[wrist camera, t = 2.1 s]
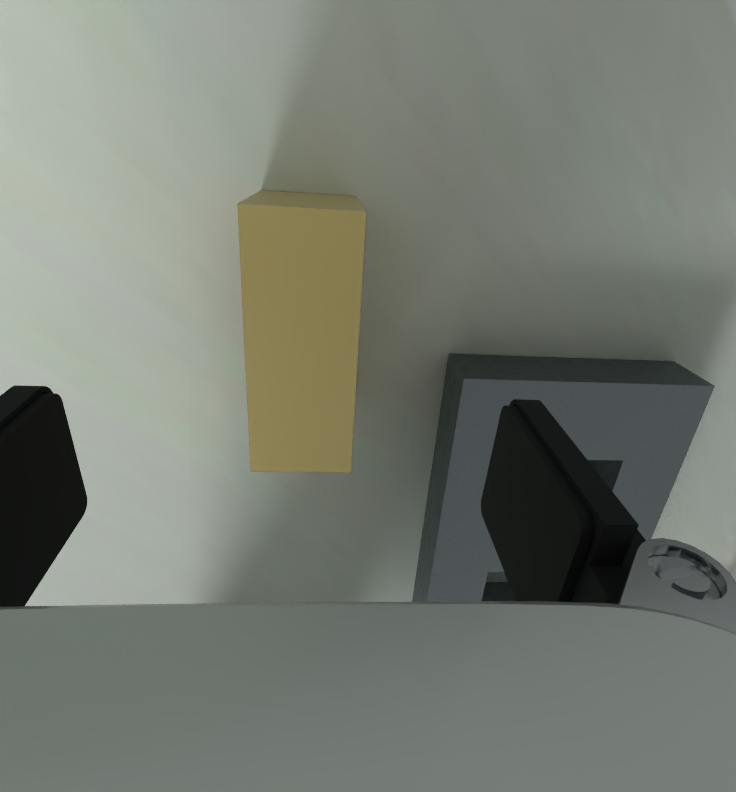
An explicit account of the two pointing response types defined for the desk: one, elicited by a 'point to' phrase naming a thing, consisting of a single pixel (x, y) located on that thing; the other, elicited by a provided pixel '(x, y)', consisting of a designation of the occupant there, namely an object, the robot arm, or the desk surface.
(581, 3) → the desk surface
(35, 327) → the desk surface
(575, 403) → the grey slotted board
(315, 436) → the yellow u-shaped block
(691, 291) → the desk surface
